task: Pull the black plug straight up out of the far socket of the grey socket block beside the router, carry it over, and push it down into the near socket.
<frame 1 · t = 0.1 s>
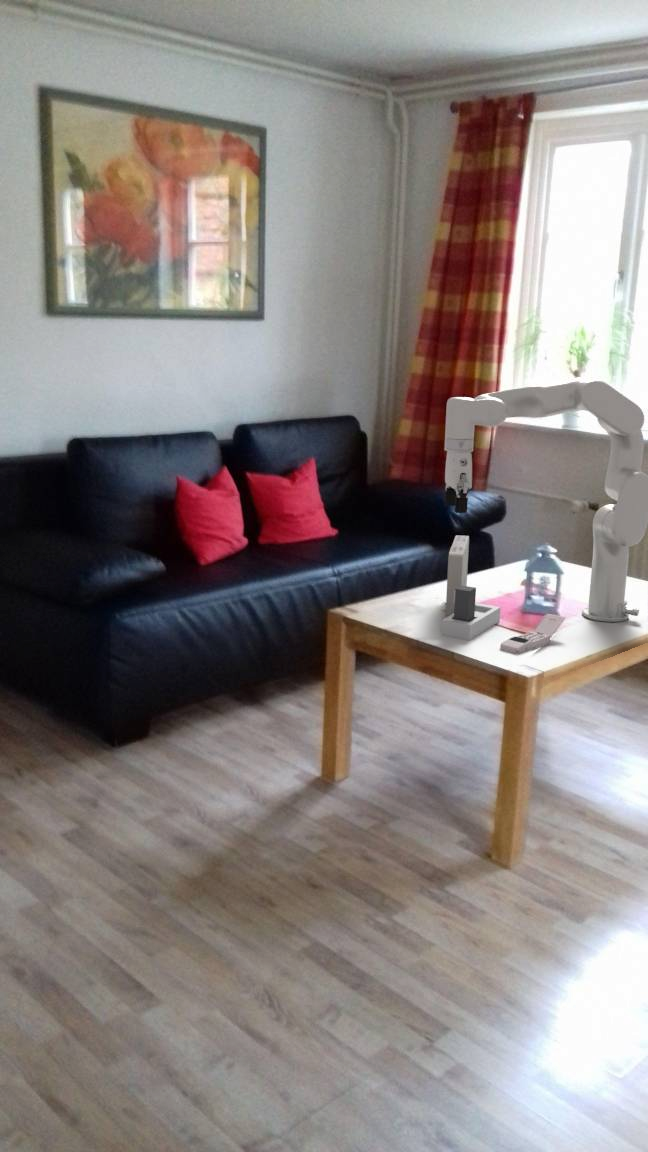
hand: (455, 509, 273), 31 cm above the table, tool pointing down, fingers open, 9 cm apart
socket block: (470, 631, 272), on the table
network device: (454, 613, 288), on the table
mobile phone: (530, 647, 262), on the table
plug: (463, 632, 268), point 1 cm above the table, touching socket block
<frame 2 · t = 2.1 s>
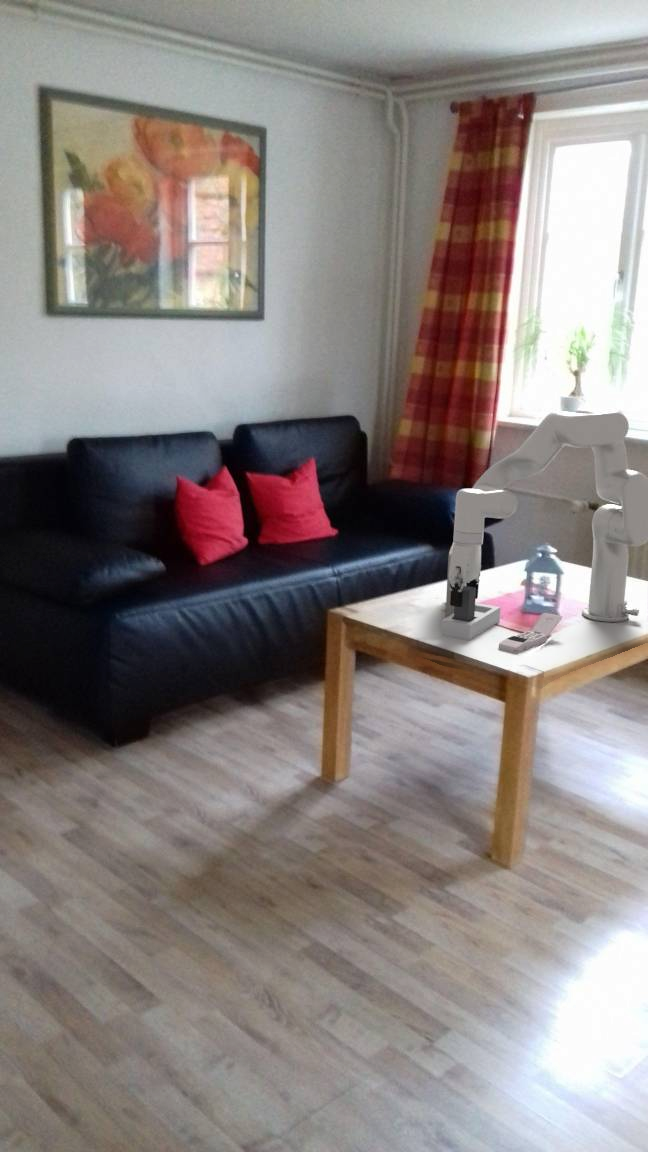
hand: (463, 602, 265), 9 cm above the table, tool pointing down, fingers open, 9 cm apart
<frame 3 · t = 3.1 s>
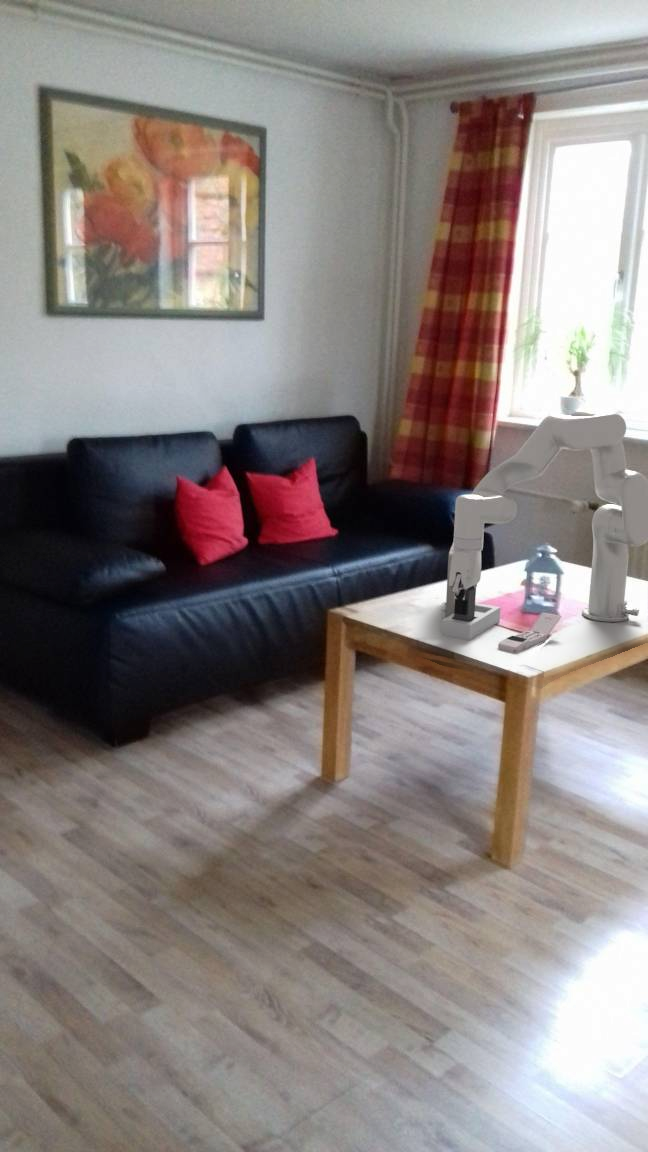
hand: (464, 611, 266), 7 cm above the table, tool pointing down, fingers closed on plug, 4 cm apart
plug: (463, 632, 268), point 1 cm above the table, touching gripper, socket block
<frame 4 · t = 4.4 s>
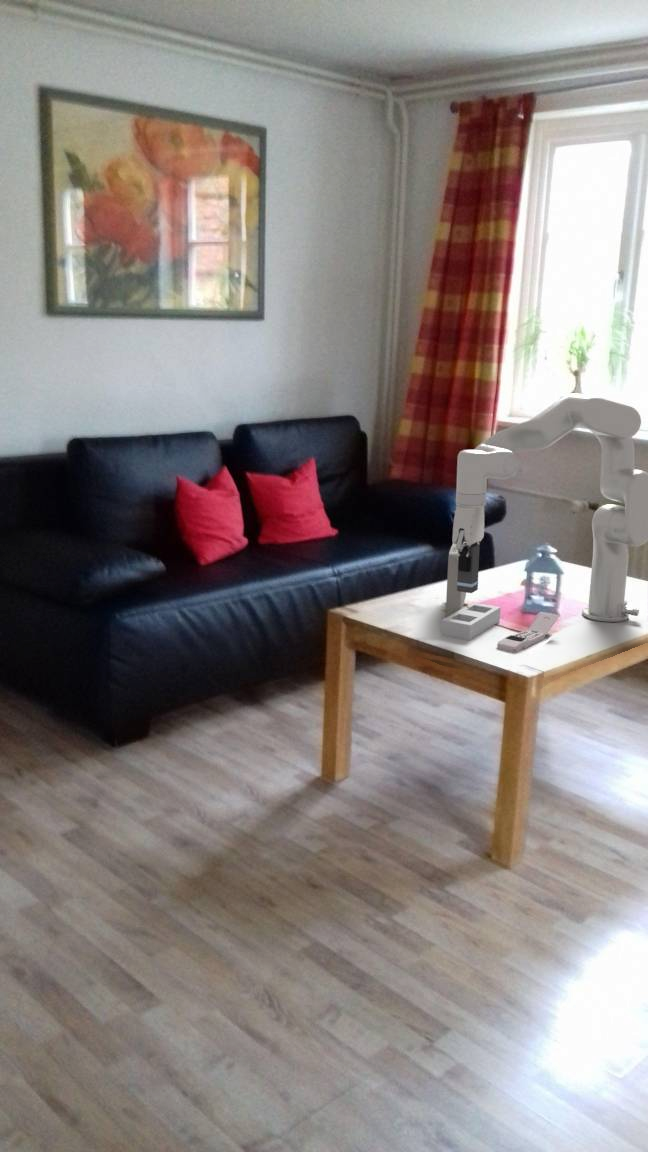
hand: (468, 568, 263), 18 cm above the table, tool pointing down, fingers closed on plug, 4 cm apart
plug: (467, 590, 265), point 12 cm above the table, touching gripper
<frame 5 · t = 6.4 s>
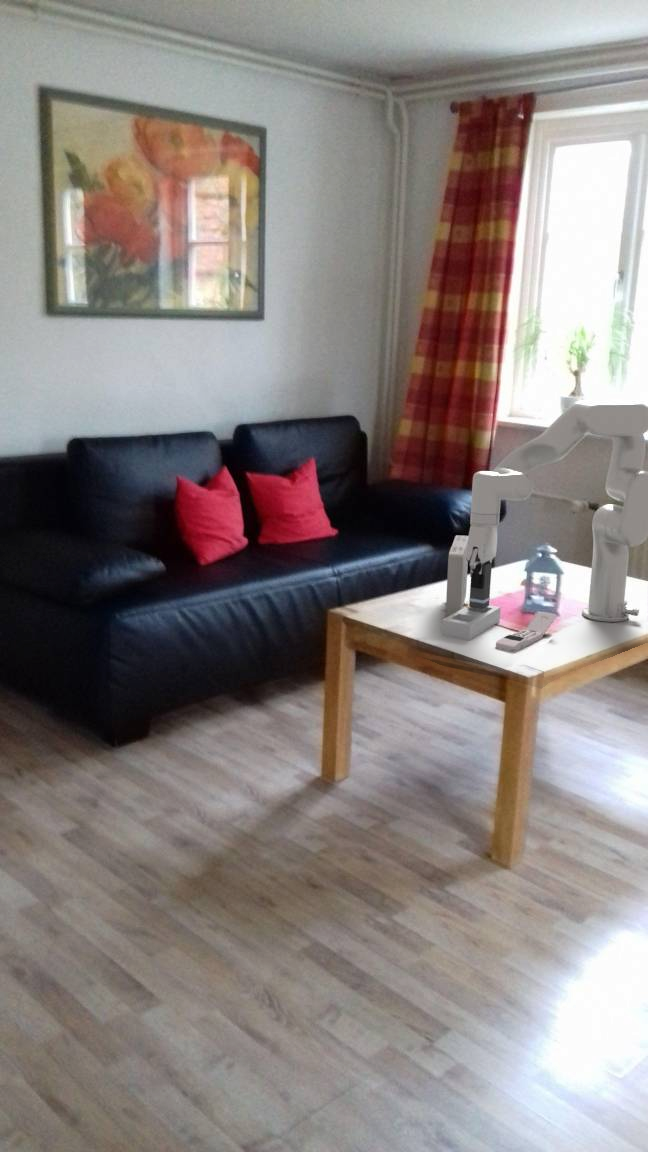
hand: (480, 585, 273), 12 cm above the table, tool pointing down, fingers closed on plug, 4 cm apart
plug: (479, 606, 275), point 6 cm above the table, touching gripper
when the fingers open (7 cm above the table, at t = 7.6 s): plug stays where it is, resting on socket block.
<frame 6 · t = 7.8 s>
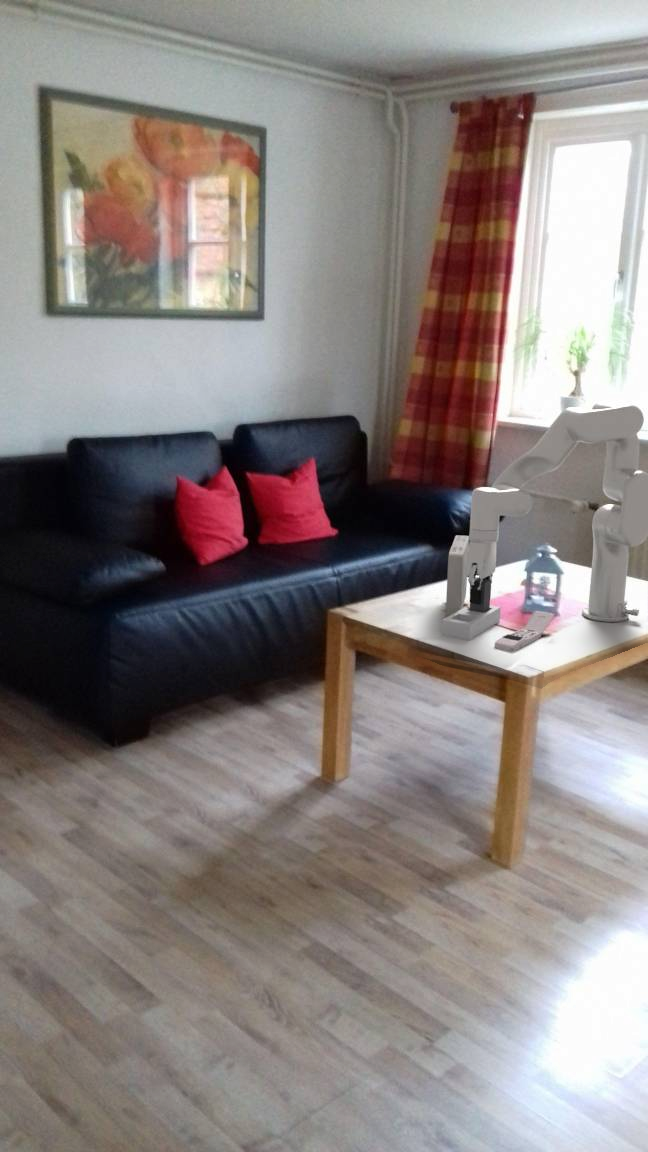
hand: (480, 600, 274), 7 cm above the table, tool pointing down, fingers open, 5 cm apart
plug: (478, 623, 276), point 1 cm above the table, touching socket block
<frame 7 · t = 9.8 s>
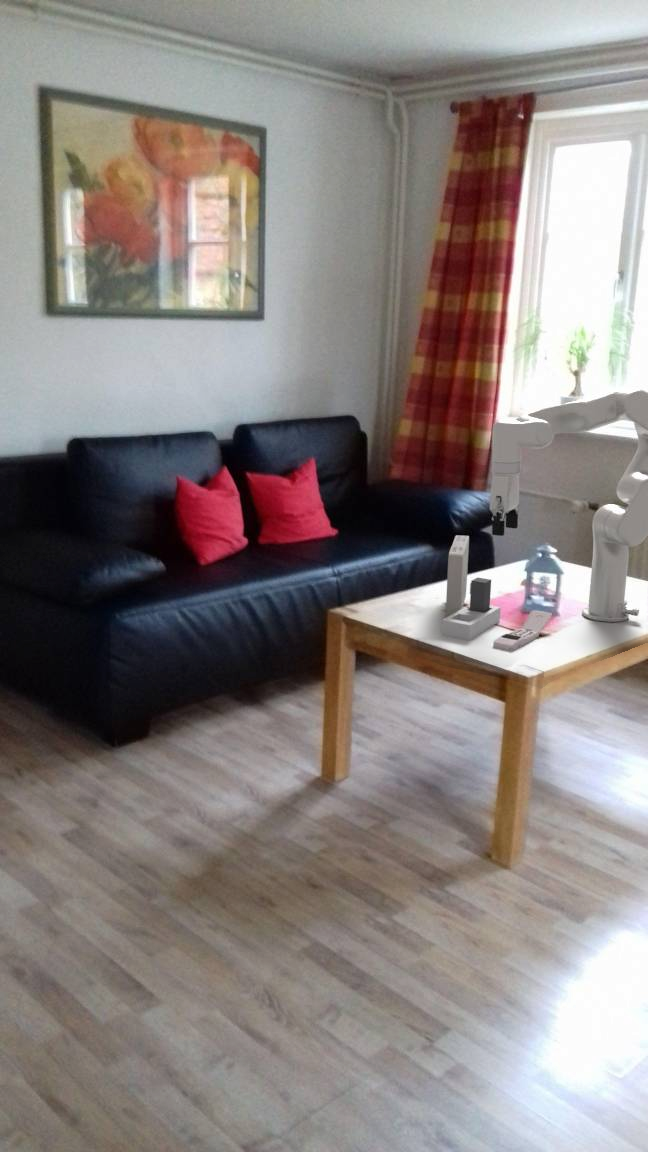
hand: (504, 531, 273), 26 cm above the table, tool pointing down, fingers open, 9 cm apart
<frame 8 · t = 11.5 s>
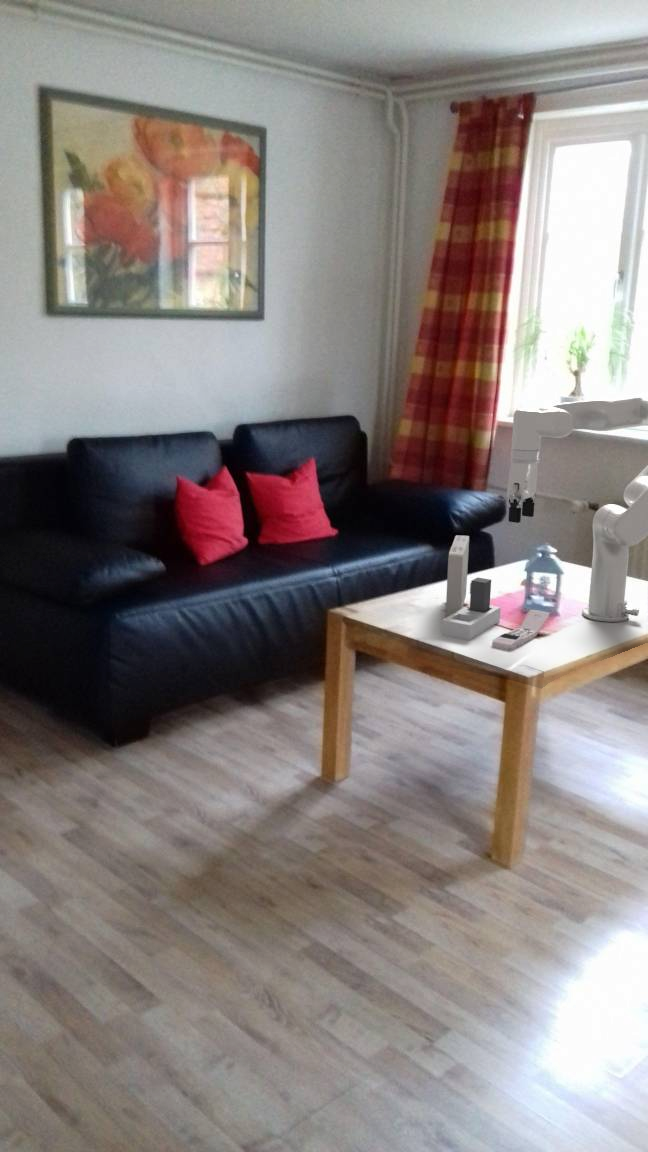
hand: (521, 519, 276), 28 cm above the table, tool pointing down, fingers open, 9 cm apart
at the end: plug 0.1 cm from the target spot on the socket block, point 1.0 cm above the socket block's base; plug tilted 0°; the gripper is holding nothing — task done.
